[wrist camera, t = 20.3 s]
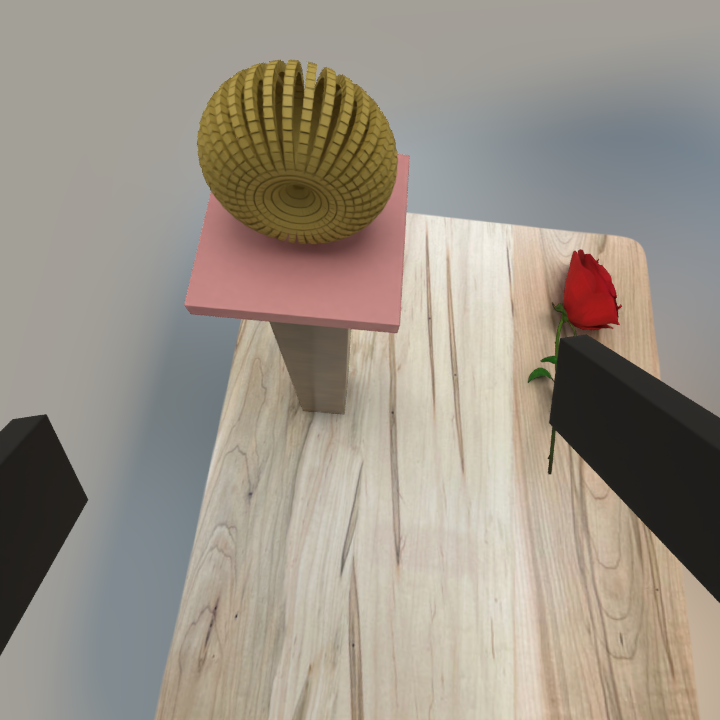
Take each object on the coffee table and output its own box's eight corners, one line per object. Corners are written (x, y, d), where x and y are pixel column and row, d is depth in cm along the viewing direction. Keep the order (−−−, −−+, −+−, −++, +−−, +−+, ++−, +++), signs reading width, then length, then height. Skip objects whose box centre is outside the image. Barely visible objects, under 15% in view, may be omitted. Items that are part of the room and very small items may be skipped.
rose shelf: (190, 314, 21) (183, 305, 20) (227, 151, 24) (223, 136, 23) (397, 333, 21) (400, 325, 20) (407, 168, 24) (409, 154, 24)
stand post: (302, 410, 52) (250, 273, 22) (307, 370, 54) (266, 192, 24) (344, 414, 52) (350, 283, 22) (348, 374, 54) (358, 201, 24)
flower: (614, 472, 40) (628, 225, 52) (506, 454, 45) (543, 231, 56) (608, 496, 47) (622, 274, 59) (516, 478, 52) (547, 276, 64)
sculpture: (220, 255, 21) (153, 113, 14) (232, 187, 22) (176, 23, 15) (386, 265, 21) (411, 131, 14) (388, 197, 23) (412, 40, 15)
